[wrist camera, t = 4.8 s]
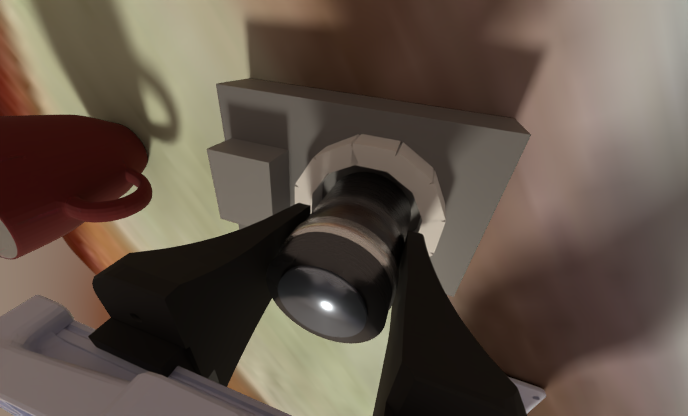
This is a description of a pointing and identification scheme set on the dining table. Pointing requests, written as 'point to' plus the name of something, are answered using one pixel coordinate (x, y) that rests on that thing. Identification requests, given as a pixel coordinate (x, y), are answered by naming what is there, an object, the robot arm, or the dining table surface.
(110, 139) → the mug
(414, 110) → the camera body
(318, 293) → the lens
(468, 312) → the dining table surface
